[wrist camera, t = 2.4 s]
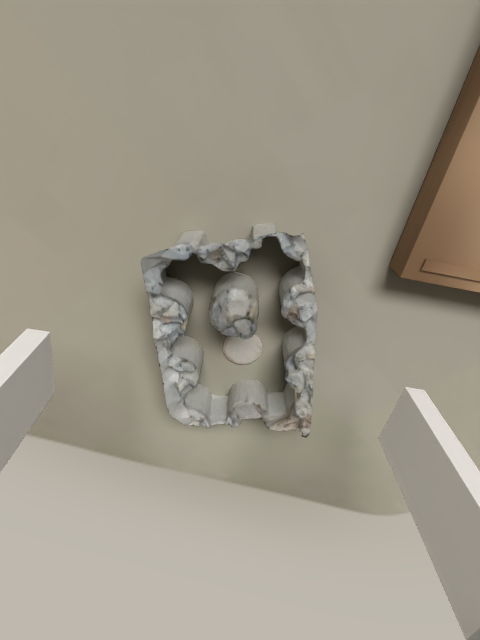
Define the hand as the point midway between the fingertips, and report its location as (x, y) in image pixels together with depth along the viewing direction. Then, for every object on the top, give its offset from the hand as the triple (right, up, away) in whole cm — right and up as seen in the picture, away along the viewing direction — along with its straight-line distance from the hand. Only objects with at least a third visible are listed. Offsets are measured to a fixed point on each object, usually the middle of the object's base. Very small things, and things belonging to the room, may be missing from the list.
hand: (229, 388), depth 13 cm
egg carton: (0, +3, +6) cm, 7 cm away
